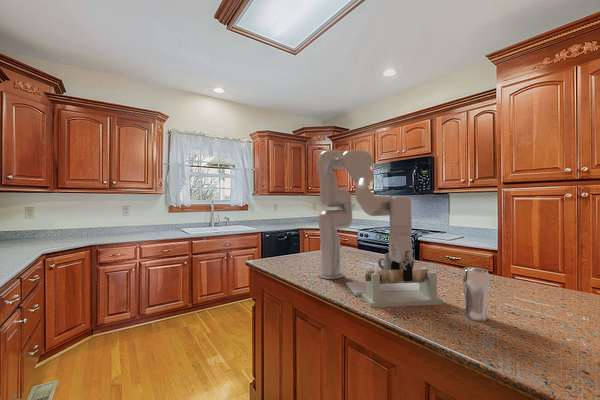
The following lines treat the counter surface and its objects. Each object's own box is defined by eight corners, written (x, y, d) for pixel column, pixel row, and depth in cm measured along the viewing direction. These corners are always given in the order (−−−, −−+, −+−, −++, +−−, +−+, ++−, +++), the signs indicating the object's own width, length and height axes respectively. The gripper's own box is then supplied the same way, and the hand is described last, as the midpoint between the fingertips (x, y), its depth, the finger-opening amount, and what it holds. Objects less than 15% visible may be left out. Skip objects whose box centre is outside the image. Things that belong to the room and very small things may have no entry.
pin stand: (361, 296, 105) (361, 268, 105) (426, 294, 107) (426, 266, 107) (370, 307, 95) (370, 276, 95) (442, 304, 97) (442, 273, 97)
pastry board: (346, 284, 119) (346, 282, 119) (412, 282, 122) (412, 279, 122) (355, 295, 106) (355, 292, 106) (429, 292, 109) (429, 289, 109)
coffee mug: (410, 275, 132) (410, 254, 132) (400, 280, 126) (399, 258, 126) (385, 270, 142) (385, 251, 142) (374, 274, 136) (374, 253, 136)
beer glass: (493, 323, 83) (493, 273, 83) (467, 321, 84) (467, 272, 84) (482, 313, 90) (482, 267, 89) (459, 311, 91) (459, 266, 91)
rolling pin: (367, 287, 98) (369, 276, 96) (363, 278, 102) (365, 267, 101) (436, 284, 101) (440, 274, 99) (430, 276, 105) (432, 265, 103)
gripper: (381, 228, 109) (382, 271, 109) (401, 233, 92) (402, 284, 92) (399, 227, 110) (400, 270, 110) (423, 232, 92) (423, 283, 92)
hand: (401, 277), depth 101 cm, fingers open, 9 cm apart
